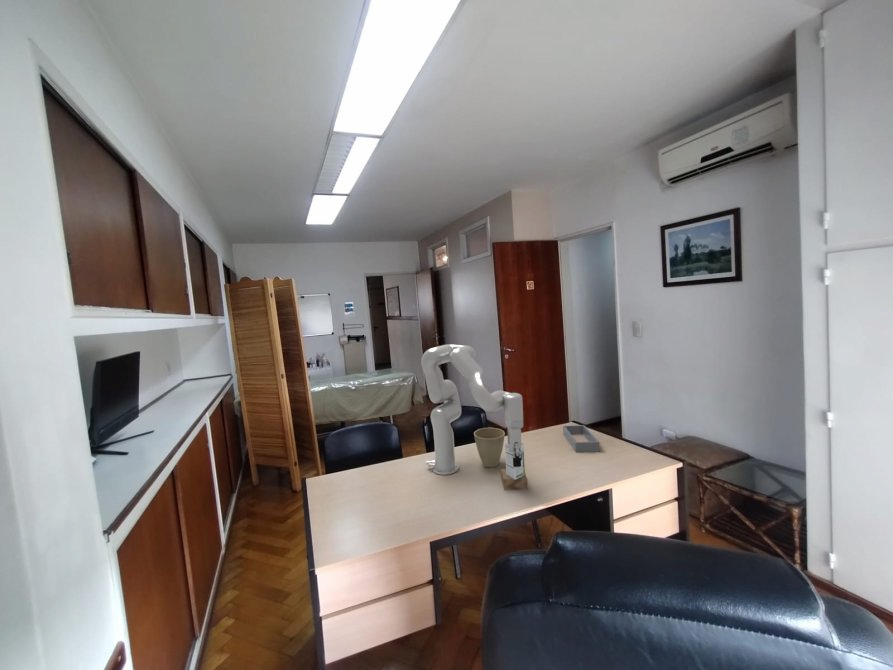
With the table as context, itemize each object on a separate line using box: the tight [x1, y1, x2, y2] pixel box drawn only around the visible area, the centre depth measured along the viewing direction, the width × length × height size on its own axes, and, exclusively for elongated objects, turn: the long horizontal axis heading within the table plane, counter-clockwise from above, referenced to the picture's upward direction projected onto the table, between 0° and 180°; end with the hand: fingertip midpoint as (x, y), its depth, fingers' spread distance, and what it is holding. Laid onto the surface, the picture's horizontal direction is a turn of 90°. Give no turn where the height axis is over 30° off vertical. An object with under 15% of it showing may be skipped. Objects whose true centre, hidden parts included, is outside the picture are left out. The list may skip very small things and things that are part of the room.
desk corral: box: [562, 424, 601, 453], centre depth 206 cm, size 12×26×5 cm, turn 176°
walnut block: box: [500, 468, 529, 491], centre depth 165 cm, size 10×10×5 cm
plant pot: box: [473, 427, 506, 468], centre depth 185 cm, size 15×15×16 cm
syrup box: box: [504, 442, 526, 480], centre depth 162 cm, size 6×6×14 cm
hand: (515, 461), depth 162 cm, fingers open, 9 cm apart
